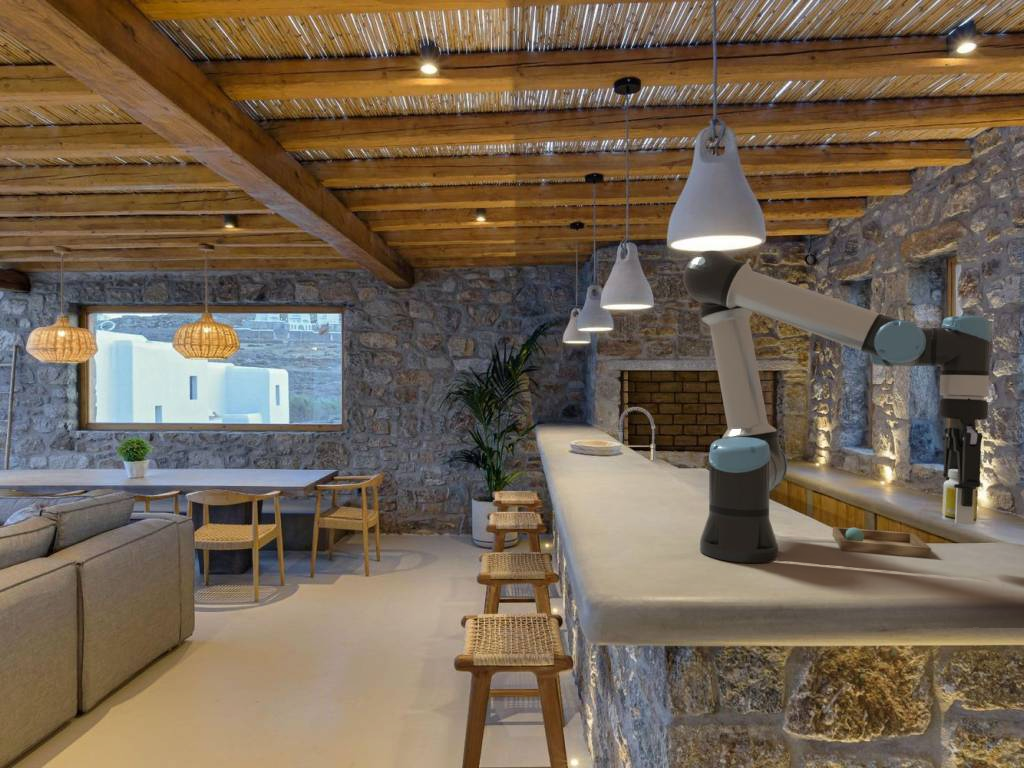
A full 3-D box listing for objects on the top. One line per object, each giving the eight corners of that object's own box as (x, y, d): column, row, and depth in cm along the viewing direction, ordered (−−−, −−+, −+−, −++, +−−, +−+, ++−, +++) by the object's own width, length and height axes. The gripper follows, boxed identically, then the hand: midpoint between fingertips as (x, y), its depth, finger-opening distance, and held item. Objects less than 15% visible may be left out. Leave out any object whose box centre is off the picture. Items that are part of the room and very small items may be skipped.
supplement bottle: (982, 526, 118) (984, 473, 118) (949, 523, 119) (951, 471, 119) (967, 519, 123) (969, 469, 123) (936, 517, 124) (938, 467, 124)
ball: (846, 544, 137) (846, 528, 137) (844, 541, 140) (844, 525, 140) (865, 546, 136) (865, 529, 136) (862, 542, 139) (862, 526, 139)
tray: (841, 552, 132) (841, 540, 132) (832, 538, 146) (832, 527, 146) (930, 560, 127) (930, 548, 127) (913, 544, 140) (913, 533, 140)
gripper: (1006, 399, 111) (1000, 532, 111) (971, 397, 128) (966, 513, 129) (955, 398, 114) (950, 528, 114) (927, 396, 131) (923, 509, 131)
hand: (959, 519), depth 121 cm, fingers closed on supplement bottle, 5 cm apart
